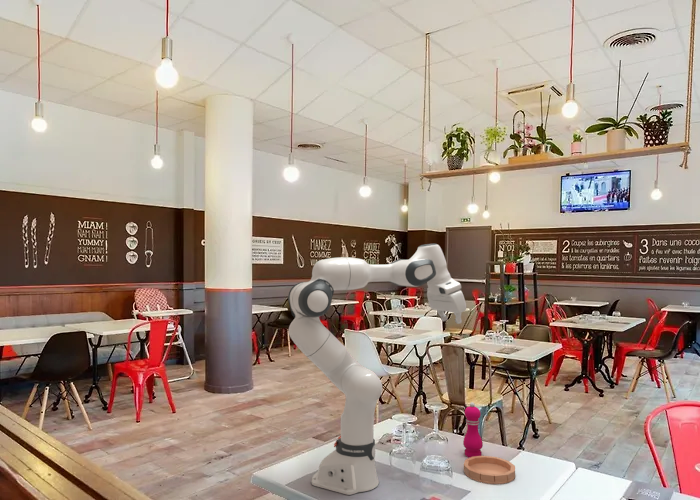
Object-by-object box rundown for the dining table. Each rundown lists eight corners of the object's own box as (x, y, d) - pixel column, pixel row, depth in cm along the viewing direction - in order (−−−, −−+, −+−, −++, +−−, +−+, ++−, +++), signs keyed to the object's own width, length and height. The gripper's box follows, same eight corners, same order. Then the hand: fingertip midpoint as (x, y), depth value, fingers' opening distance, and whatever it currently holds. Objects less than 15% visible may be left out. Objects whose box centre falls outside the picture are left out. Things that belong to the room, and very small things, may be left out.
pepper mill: (485, 459, 183) (484, 405, 184) (465, 459, 183) (464, 405, 184) (480, 451, 190) (479, 399, 191) (461, 451, 190) (460, 399, 191)
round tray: (461, 480, 165) (461, 471, 165) (467, 461, 181) (467, 453, 181) (514, 487, 159) (514, 478, 159) (515, 467, 175) (515, 459, 175)
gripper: (419, 287, 186) (430, 321, 187) (448, 290, 166) (460, 328, 168) (433, 282, 188) (443, 315, 189) (463, 283, 169) (474, 321, 170)
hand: (451, 321), depth 178 cm, fingers open, 8 cm apart
